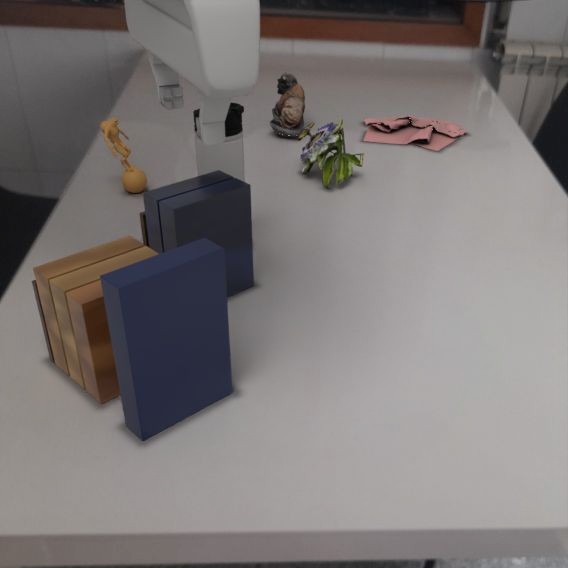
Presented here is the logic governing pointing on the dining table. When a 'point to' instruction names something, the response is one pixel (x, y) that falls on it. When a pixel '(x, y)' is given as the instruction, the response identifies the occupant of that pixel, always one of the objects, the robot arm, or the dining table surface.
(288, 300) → the dining table surface
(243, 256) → the navy books
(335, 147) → the passion flower
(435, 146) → the cloth
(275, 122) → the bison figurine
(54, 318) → the tan books
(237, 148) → the travel mug
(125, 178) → the figurine
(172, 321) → the navy book
